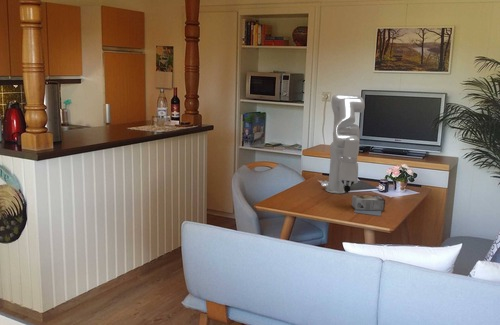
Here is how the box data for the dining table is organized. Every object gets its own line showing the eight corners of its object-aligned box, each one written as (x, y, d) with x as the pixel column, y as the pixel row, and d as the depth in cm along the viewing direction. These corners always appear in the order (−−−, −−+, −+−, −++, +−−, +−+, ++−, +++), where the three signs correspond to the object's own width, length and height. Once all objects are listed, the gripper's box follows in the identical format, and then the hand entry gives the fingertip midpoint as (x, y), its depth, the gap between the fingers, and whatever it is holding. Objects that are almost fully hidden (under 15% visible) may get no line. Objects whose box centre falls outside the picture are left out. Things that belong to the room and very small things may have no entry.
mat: (353, 212, 280) (354, 212, 280) (356, 206, 293) (356, 205, 293) (380, 216, 276) (380, 215, 276) (382, 209, 289) (382, 208, 289)
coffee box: (352, 194, 291) (380, 195, 292) (351, 205, 292) (379, 206, 294) (357, 198, 282) (385, 199, 283) (355, 210, 283) (384, 210, 285)
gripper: (335, 159, 281) (332, 192, 285) (363, 162, 277) (360, 195, 281) (337, 157, 288) (334, 189, 292) (364, 160, 284) (361, 192, 288)
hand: (346, 192), depth 286 cm, fingers closed
